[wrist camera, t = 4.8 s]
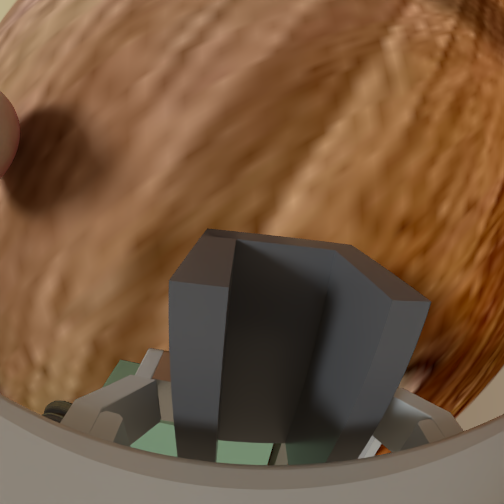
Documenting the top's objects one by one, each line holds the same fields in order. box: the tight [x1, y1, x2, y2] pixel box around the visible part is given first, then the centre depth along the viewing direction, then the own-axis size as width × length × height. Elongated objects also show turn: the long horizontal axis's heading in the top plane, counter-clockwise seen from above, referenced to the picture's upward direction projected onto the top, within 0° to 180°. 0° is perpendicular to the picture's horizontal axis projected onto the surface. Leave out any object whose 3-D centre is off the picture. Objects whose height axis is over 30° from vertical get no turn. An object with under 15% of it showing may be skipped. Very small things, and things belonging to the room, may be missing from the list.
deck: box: [102, 360, 382, 465], centre depth 17 cm, size 16×24×11 cm, turn 84°
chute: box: [169, 229, 431, 465], centre depth 8 cm, size 5×9×5 cm, turn 173°
